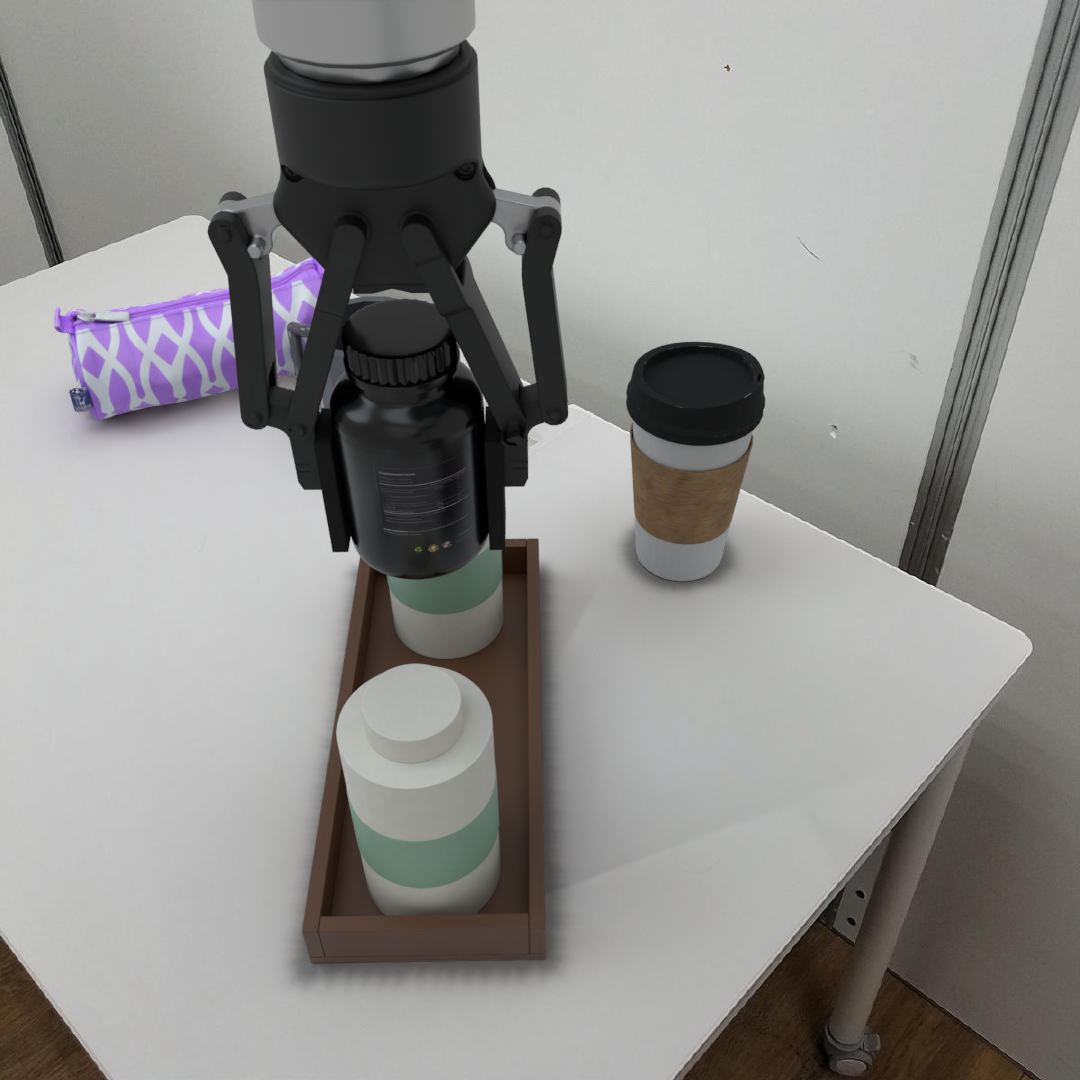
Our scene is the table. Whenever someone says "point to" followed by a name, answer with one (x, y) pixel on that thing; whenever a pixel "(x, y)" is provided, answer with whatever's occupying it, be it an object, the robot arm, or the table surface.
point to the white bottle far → (451, 608)
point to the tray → (516, 704)
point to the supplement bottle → (409, 442)
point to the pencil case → (175, 345)
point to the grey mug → (337, 366)
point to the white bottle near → (422, 790)
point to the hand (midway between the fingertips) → (420, 531)
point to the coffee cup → (690, 451)
